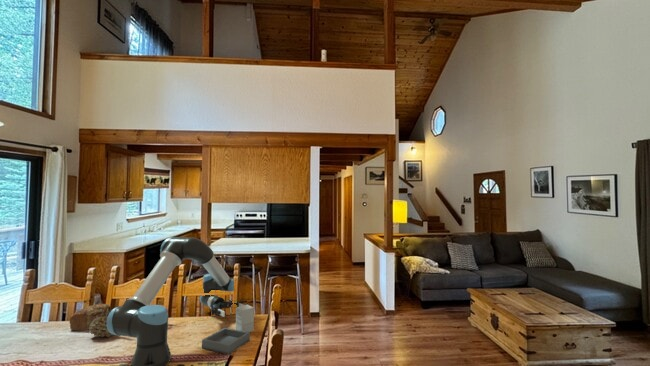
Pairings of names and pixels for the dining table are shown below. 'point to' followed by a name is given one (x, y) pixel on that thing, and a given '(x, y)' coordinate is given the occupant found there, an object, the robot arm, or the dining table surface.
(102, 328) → the pine cone
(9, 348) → the dining table surface
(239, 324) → the supplement box
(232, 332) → the box
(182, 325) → the dining table surface
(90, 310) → the bread
